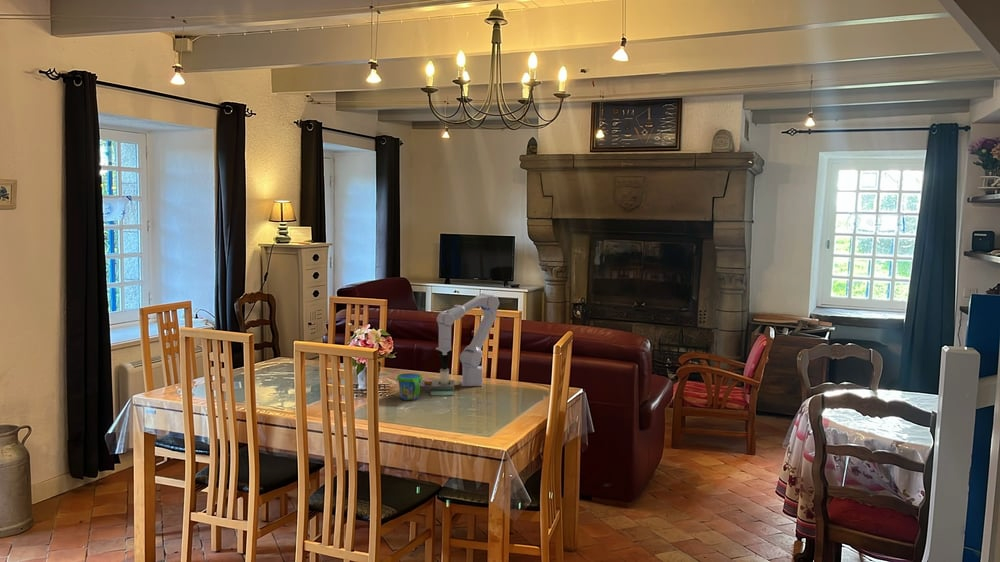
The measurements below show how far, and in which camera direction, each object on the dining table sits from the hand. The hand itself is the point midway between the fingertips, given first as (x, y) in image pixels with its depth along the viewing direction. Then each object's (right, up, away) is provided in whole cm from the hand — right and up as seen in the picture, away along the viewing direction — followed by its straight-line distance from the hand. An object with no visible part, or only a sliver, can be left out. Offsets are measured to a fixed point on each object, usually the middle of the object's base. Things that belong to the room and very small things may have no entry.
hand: (444, 367), depth 338 cm
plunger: (-8, -9, 0) cm, 12 cm away
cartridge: (0, -10, +1) cm, 10 cm away
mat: (0, -11, -10) cm, 15 cm away
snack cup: (-14, -12, -19) cm, 26 cm away
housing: (-3, -10, +1) cm, 10 cm away
